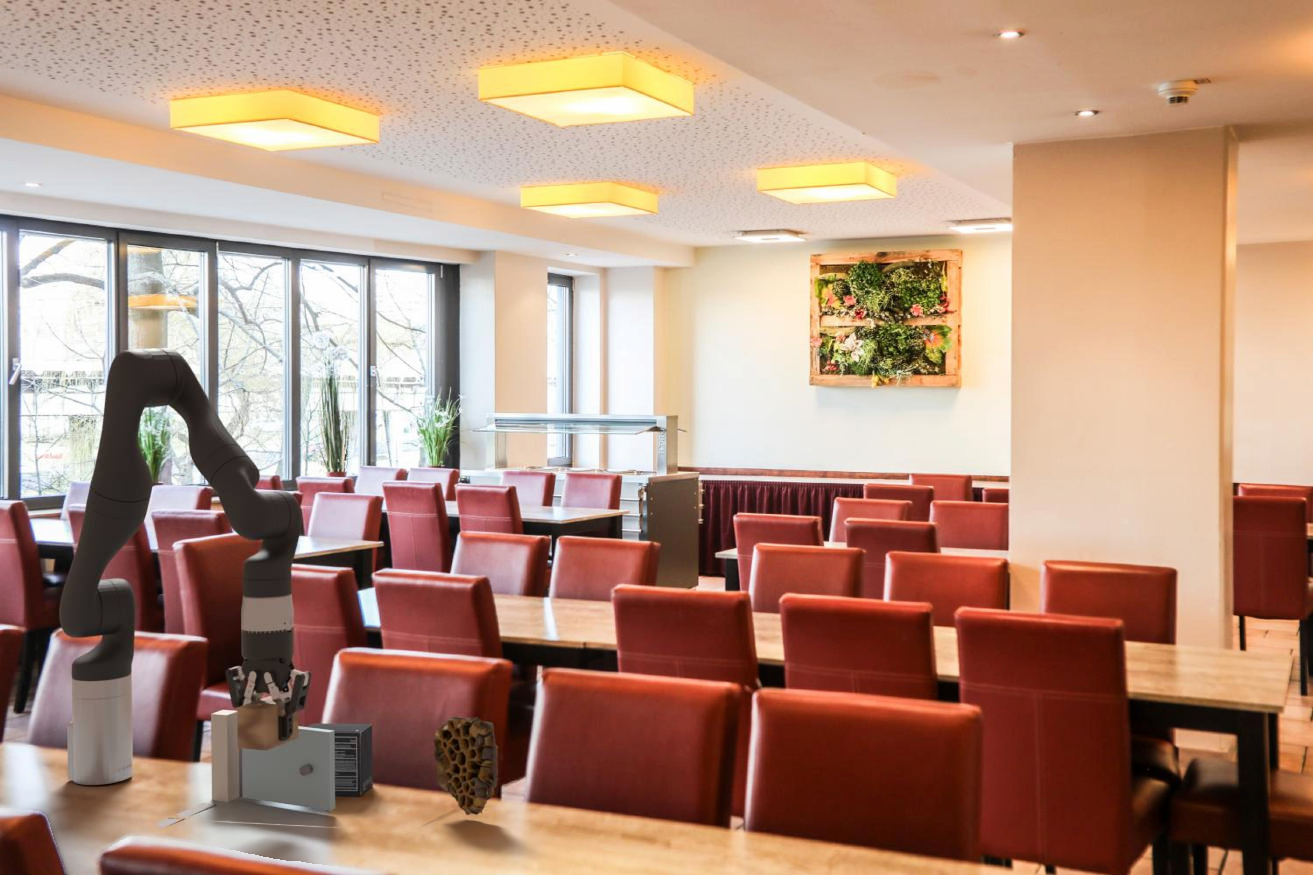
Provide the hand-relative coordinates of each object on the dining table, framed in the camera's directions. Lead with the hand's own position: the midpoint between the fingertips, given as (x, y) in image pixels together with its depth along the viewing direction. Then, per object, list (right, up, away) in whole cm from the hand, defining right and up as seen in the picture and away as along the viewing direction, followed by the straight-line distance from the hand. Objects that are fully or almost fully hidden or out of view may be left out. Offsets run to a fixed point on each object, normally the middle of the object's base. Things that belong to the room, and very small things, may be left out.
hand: (268, 737), depth 191 cm
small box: (+6, -13, +17) cm, 22 cm away
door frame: (-13, -13, +6) cm, 19 cm away
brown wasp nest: (+29, -13, +4) cm, 32 cm away
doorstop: (0, -1, 0) cm, 1 cm away
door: (0, -12, +7) cm, 14 cm away
